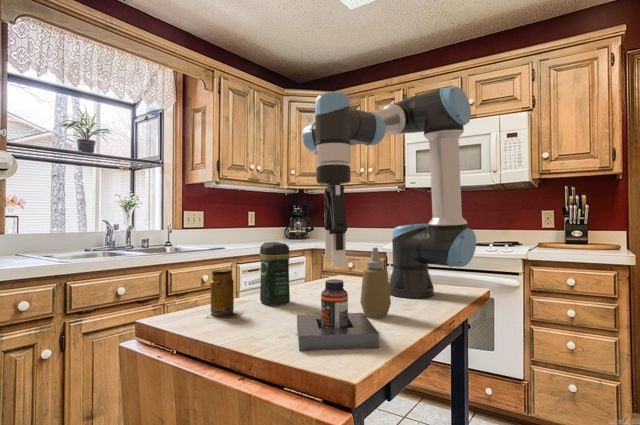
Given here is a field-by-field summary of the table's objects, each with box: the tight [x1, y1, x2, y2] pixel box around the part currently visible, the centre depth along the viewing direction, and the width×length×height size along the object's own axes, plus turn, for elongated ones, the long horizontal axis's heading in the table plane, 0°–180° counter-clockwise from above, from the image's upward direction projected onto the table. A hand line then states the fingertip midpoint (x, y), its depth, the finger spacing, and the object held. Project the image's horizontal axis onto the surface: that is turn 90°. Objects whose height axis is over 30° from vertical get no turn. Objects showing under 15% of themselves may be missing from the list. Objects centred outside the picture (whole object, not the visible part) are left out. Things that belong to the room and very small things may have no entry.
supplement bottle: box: [320, 278, 349, 329], centre depth 85 cm, size 6×6×11 cm
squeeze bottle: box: [359, 247, 392, 319], centre depth 102 cm, size 8×8×18 cm
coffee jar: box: [259, 241, 291, 307], centre depth 117 cm, size 10×8×19 cm
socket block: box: [296, 312, 380, 352], centre depth 85 cm, size 16×16×3 cm
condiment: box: [206, 268, 244, 319], centre depth 104 cm, size 7×8×12 cm
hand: (334, 261), depth 85 cm, fingers open, 13 cm apart
